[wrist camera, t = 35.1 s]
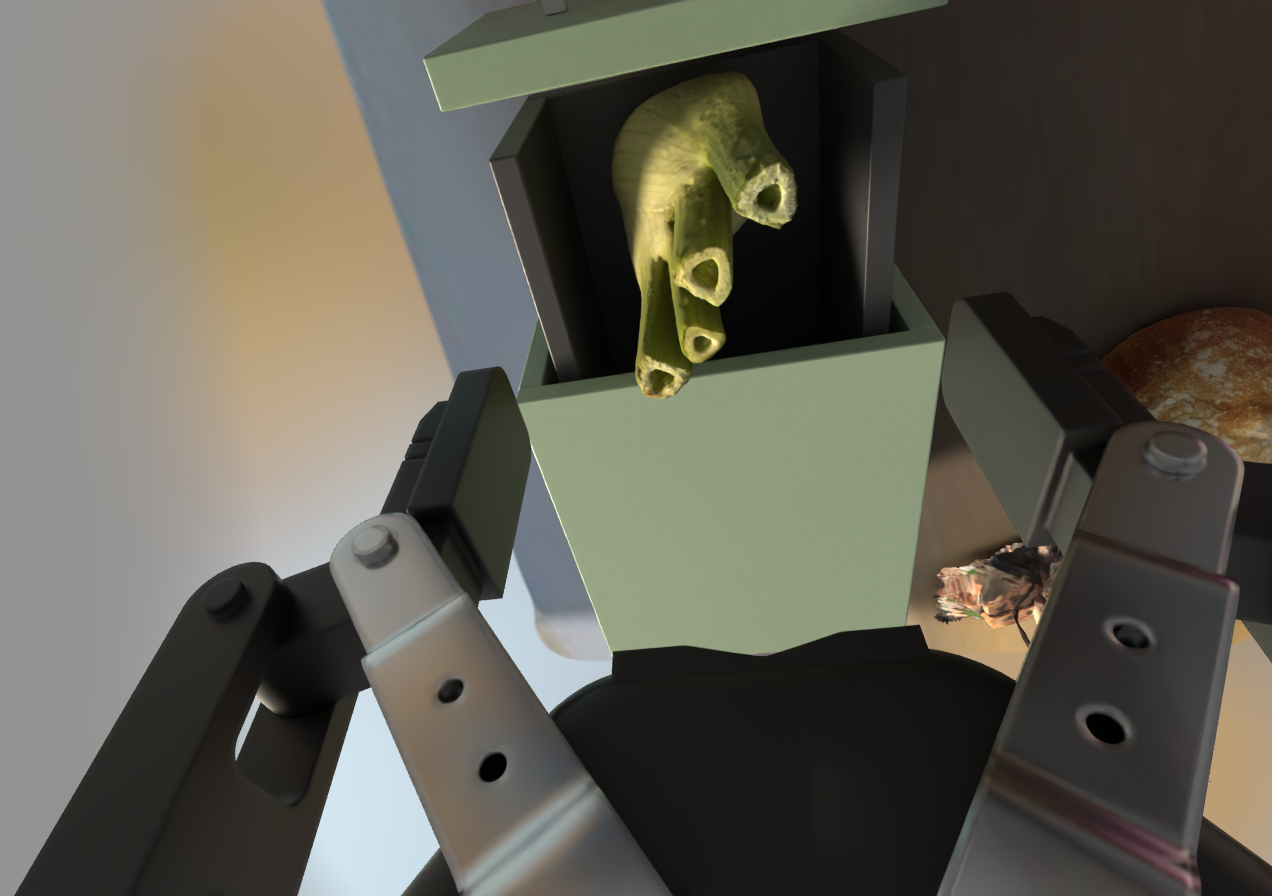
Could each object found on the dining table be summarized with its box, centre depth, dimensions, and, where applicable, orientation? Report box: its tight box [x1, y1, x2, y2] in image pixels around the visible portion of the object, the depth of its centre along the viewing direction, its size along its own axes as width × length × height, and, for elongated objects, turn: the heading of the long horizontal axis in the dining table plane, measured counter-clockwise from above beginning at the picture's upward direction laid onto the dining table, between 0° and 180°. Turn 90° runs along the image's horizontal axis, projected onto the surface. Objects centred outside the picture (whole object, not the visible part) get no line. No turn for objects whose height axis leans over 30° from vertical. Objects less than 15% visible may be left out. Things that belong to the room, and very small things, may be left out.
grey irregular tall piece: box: [933, 543, 1210, 782], centre depth 33 cm, size 8×11×20 cm
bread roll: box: [1100, 307, 1272, 464], centre depth 30 cm, size 10×10×8 cm
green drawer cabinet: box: [516, 263, 946, 657], centre depth 28 cm, size 16×13×10 cm
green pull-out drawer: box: [423, 0, 948, 383], centre depth 20 cm, size 20×12×8 cm, turn 11°
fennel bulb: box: [612, 71, 798, 399], centre depth 18 cm, size 6×5×12 cm
